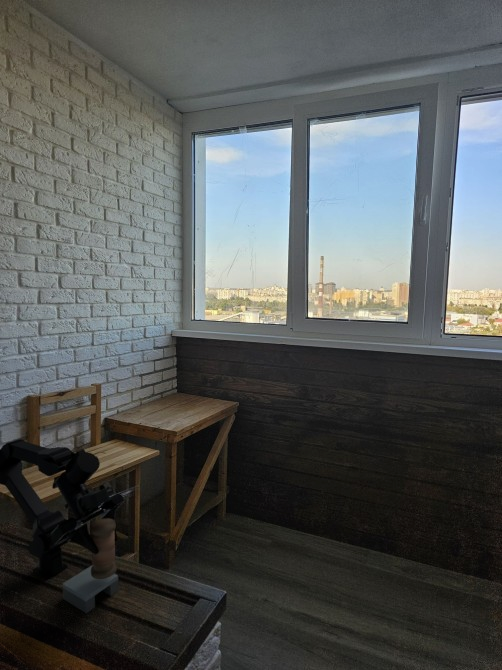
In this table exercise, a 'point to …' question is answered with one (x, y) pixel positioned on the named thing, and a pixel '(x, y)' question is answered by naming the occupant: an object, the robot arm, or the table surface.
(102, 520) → the brown flanged cylinder
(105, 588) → the grey bridge block
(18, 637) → the table surface
